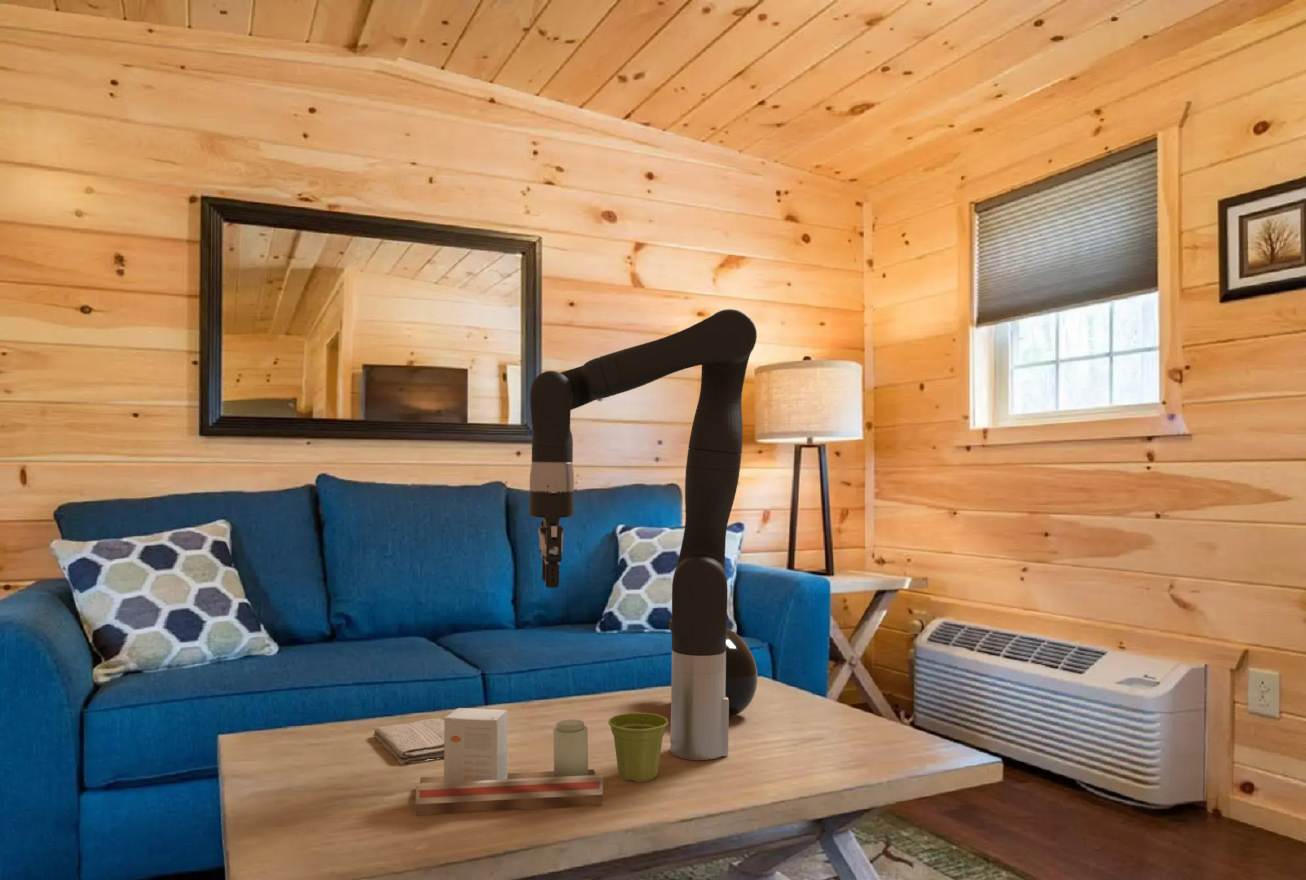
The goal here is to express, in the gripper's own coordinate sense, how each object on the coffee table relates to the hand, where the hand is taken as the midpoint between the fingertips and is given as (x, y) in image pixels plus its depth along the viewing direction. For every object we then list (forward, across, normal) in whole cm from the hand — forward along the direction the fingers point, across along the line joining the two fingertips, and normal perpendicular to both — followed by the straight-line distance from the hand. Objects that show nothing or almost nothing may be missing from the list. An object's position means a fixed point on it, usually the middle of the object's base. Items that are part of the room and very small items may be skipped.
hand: (550, 583), depth 158 cm
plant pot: (+28, +15, +13) cm, 35 cm away
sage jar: (+26, +22, +2) cm, 34 cm away
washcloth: (+29, -5, -21) cm, 36 cm away
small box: (+27, +20, -12) cm, 36 cm away
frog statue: (+28, -22, +33) cm, 49 cm away
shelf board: (+28, +21, -7) cm, 36 cm away
